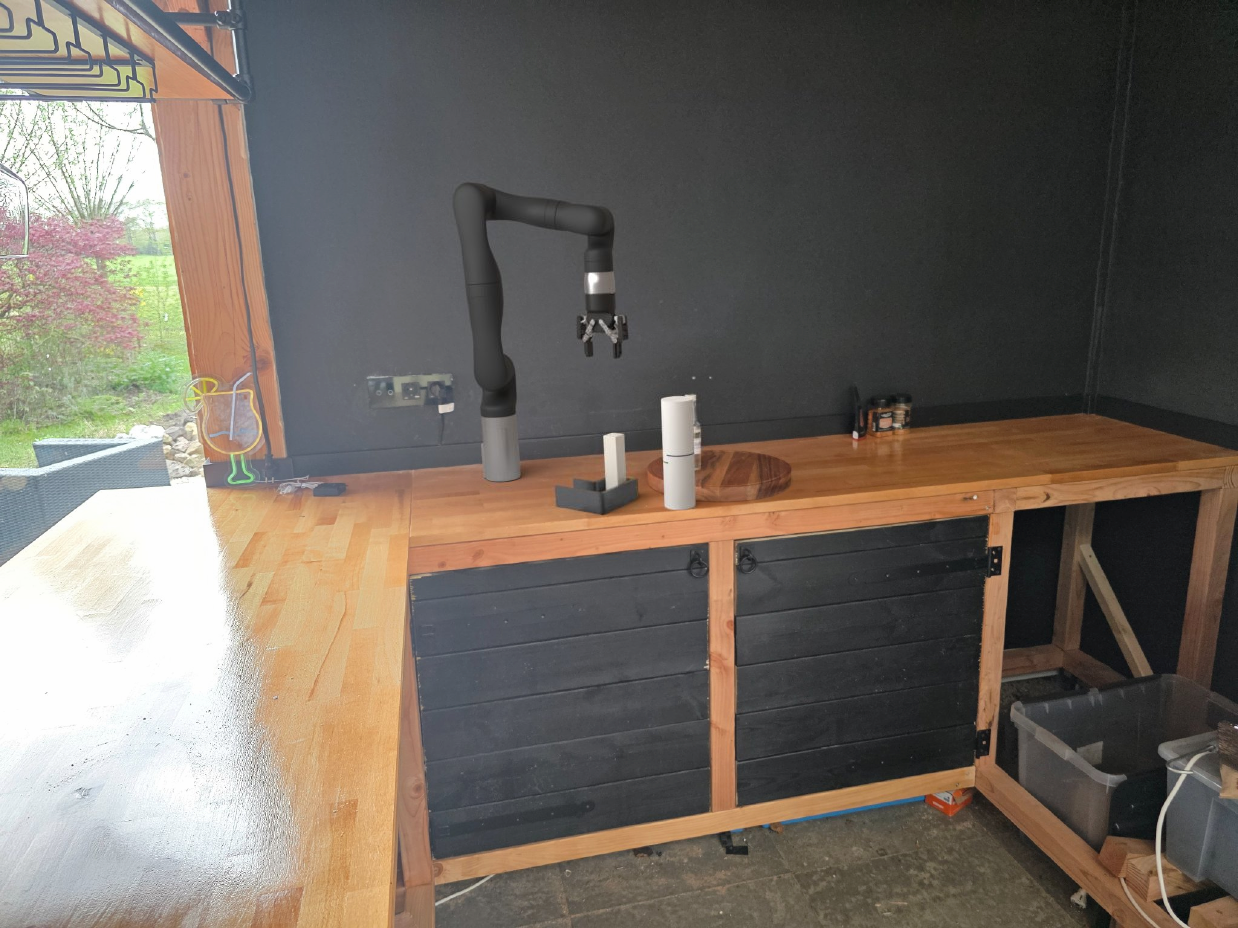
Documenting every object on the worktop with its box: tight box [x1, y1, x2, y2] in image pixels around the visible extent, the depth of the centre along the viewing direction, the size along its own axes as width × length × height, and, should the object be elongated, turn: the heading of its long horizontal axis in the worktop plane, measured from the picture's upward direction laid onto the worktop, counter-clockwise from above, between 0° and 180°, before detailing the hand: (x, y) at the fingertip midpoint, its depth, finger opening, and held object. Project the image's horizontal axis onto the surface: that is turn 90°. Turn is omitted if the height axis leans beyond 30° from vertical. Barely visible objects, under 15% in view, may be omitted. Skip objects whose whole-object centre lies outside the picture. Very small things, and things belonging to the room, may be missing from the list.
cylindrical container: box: [660, 395, 696, 511], centre depth 192 cm, size 7×7×25 cm
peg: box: [603, 432, 627, 490], centre depth 199 cm, size 4×4×16 cm
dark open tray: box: [554, 476, 640, 516], centre depth 200 cm, size 14×14×5 cm
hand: (603, 357), depth 209 cm, fingers open, 8 cm apart
